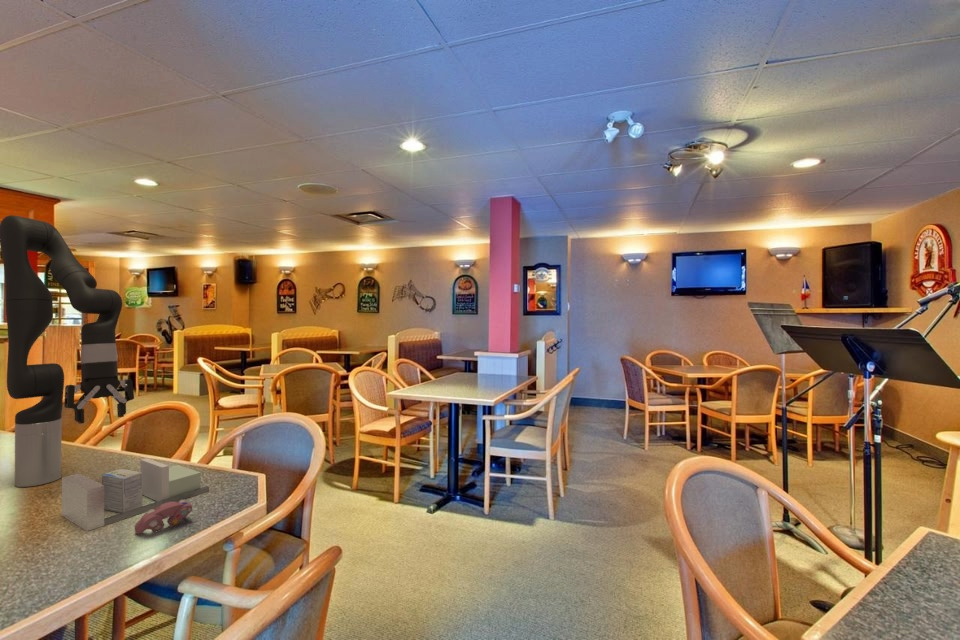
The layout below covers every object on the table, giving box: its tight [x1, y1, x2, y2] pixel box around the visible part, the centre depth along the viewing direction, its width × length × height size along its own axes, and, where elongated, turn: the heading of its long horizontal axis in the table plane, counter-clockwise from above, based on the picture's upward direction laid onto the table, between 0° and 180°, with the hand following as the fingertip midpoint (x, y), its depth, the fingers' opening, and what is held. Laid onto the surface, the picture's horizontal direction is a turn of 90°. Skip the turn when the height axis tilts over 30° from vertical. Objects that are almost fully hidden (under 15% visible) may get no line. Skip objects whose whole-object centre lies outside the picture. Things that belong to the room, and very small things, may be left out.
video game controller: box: [134, 499, 193, 535], centre depth 95 cm, size 10×5×7 cm, turn 148°
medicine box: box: [101, 468, 144, 514], centre depth 105 cm, size 8×4×9 cm, turn 71°
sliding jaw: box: [139, 457, 201, 502], centre depth 114 cm, size 12×9×9 cm
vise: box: [61, 472, 210, 532], centre depth 108 cm, size 15×26×9 cm, turn 150°
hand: (101, 420), depth 117 cm, fingers open, 8 cm apart
